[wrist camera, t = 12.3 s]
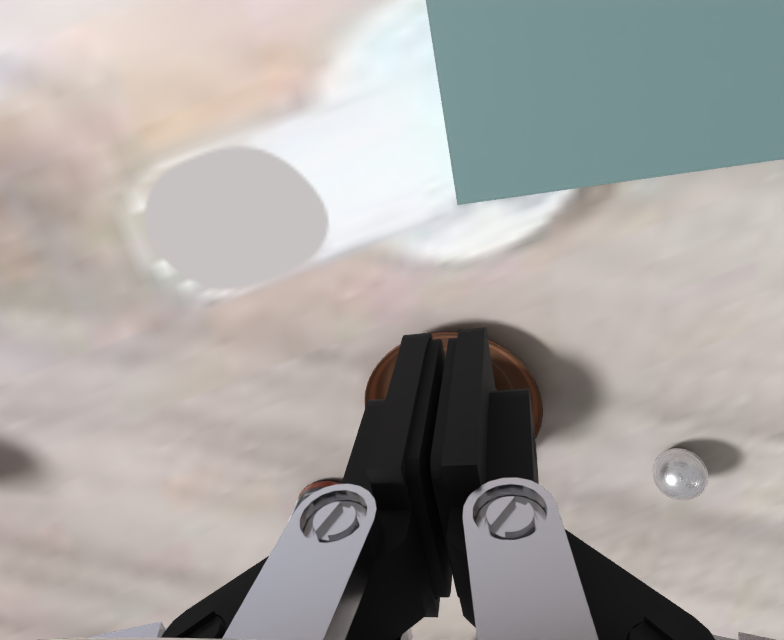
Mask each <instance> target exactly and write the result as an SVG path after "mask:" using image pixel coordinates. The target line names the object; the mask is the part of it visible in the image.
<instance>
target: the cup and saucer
mask: <svg viewBox="0 0 784 640" xmlns="http://www.w3.org/2000/svg"><path fill="white" fill-rule="evenodd" d="M431 335H432V338H433V340H434V339H441V340H442V342H443V347H444V352H445V357H446V351H447V345H448V339H449V338H456V337H457V335H458V333H455V332H441V333H432V334H431ZM488 342H489V349H490V355H491V362H492V369H493V376H494V383H495V389H496V391H503V390H517V389H529V390H530V397H531V405H532V413H533V422H534V432H535V439H536V437H537V435H538V432H539V430H540V427H541V423H542V416H543V407H542V400H541V395H540V392H539V389H538V386H537V384H536V382H535V380H534V378H533V377H532V375H531V373H530V372H529V370H528V369H527V368H526V367H525V365H524V364H523V363H522V362H521V361H520V360H519V359H518V358H517V357H516V356H514V355H513V354H512V353H511V352H509V351H508V350H506V349H505V348H503V347H502V346H500V345H498V344H496V343H494V342H492V341H490V340H488ZM400 345H401V344H400ZM400 345H399V346H397V347H395V348H394V349H393V350H391V351H390V352H389V353H388V354H387V355H386V356H385V357H384V358H383V359H382V360H381V361H380V362H379V363H378V365H377V366H376V368H375V369H374V370H373V372H372V374H371V376H370V378H369V381H368V383H367V387H366V391H365V408H366V405H367V403H368V401H370V400H374V399H386V396H387V392H388V388H389V385H390V381H391V378H392V374H393V370H394V367H395V363H396V359H397V356H398V352H399V349H400Z"/></svg>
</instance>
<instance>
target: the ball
mask: <svg viewBox="0 0 784 640" xmlns="http://www.w3.org/2000/svg"><path fill="white" fill-rule="evenodd" d="M653 478H654V481H655V484H656V485H657V487H658V488H659V489H660V491H661V492H663V493H664V494H665V495H667V496H668V497H670V498H673V499H676V500H690V499H693V498H696V497H697V496H699V495H700V494H701V493H702V492H703V491H704V490H705V488H706V486H707V483H708V471H707V468H706V465H705V464H704V462H703V461H702V459H701V458H700V457H699V456H698V455H696V454H695V453H693V452H691V451H689V450H686V449H681V448H674V449H669V450H667V451H665V452H663V453H662V454H660V455H659V456H658V457H657V459H656V460H655V462H654V465H653Z"/></svg>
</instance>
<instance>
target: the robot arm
mask: <svg viewBox="0 0 784 640" xmlns="http://www.w3.org/2000/svg"><path fill="white" fill-rule="evenodd" d="M452 574H453V578H454V583H455V587H456V592H457V596H458V597H459V598H460V603H461V607H462V612H463V616H464V617H465V618H466V619H467V620H468V621H469V622H470V623H471V624H472V625H473V626H474V627H475V628H476V634H477V640H735V639H730V638H726V637H721V636H716V635H712V634H711V632H710V631H709V630H708V629H707V628H706V627H705V626H704V625H703V624H701V623H700V622H699V621H698V620H697V619H696V618H695V617H693V616H692V615H690V614H689V613H687V612H686V611H684V610H683V609H681V608H680V607H679V606H677V605H676V604H674V603H673V602H671V601H670V600H668V599H667V598H665V597H664V596H662V595H661V594H659V593H658V592H656V591H655V590H654V589H652V588H651V587H649V586H648V585H646V584H645V583H643V582H642V581H640V580H639V579H637V578H636V577H634V576H633V575H632V574H630V573H629V572H627V571H626V570H624V569H623V568H621V567H620V566H618V565H617V564H615V563H614V562H612V561H611V560H609V559H608V558H607V557H605V556H604V555H602V554H601V553H599V552H598V551H596V550H595V549H593V548H592V547H590V546H589V545H587V544H586V543H584V542H583V541H582V540H580V539H579V538H577V537H576V536H574V535H573V534H571V533H570V532H568V531H567V530H565V529H564V526H563V522H562V519H561V516H560V512H559V509H558V506H557V503H556V501H555V500H554V498H553V496H552V494H551V493H550V492H549V491H547V490H546V489H545V488H544V487H543V486H542V485H539V482H538V467H537V453H536V442H535V432H534V422H533V413H532V405H531V397H530V390H529V389H517V390H503V391H496V389H495V383H494V376H493V369H492V362H491V355H490V349H489V342H488V335H487V330H486V328H477V329H466V330H458V335H457V337H456V338H449V339H448V345H447V351H446V357H445V352H444V347H443V342H442V340H441V339H434V340H433V338H432V335H431V333H423V334H413V335H404V336H403V338H402V341H401V345H400V349H399V352H398V356H397V359H396V363H395V367H394V370H393V374H392V378H391V381H390V385H389V388H388V392H387V396H386V399H374V400H370V401H368V403H367V405H366V408H365V411H364V414H363V418H362V421H361V424H360V427H359V430H358V433H357V437H356V440H355V443H354V446H353V449H352V452H351V456H350V459H349V462H348V465H347V468H346V471H345V475H344V478H343V481H342V484H336V485H332V486H328V487H325V488H322V489H320V490H318V491H316V492H314V493H312V494H311V495H310V496H309V497H307V498H306V499H305V500H304V501H302V502H301V504H300V505H299V506H298V508H297V509H296V510H295V511H294V513H293V515H292V517H291V518H290V520H289V522H288V524H287V526H286V527H285V529H284V531H283V533H282V534H281V536H280V538H279V540H278V541H277V543H276V545H275V547H274V548H273V550H272V552H271V554H270V555H269V556H268V557H267V558H265V559H264V560H262V561H261V562H259V563H258V564H256V565H254V566H253V567H251V568H250V569H248V570H247V571H245V572H244V573H242V574H241V575H239V576H238V577H236V578H235V579H233V580H232V581H230V582H229V583H227V584H226V585H224V586H223V587H221V588H220V589H218V590H217V591H215V592H214V593H212V594H210V595H209V596H207V597H206V598H204V599H203V600H201V601H200V602H198V603H197V604H195V605H194V606H192V607H191V608H189V609H188V610H186V611H185V612H184V613H183V614H181V615H180V616H179V617H178V618H176V619H175V620H174V621H173V622H172V623H171V624H170V626H169V627H168V628H165V627H164V626H163V624H162V622H158V623H153V624H148V625H143V626H139V627H134V628H129V629H124V630H119V631H115V632H110V633H105V634H100V635H96V636H91V637H86V638H61V639H39V640H412V637H413V635H412V630H411V627H412V626H413V625H415V624H416V623H417V622H418V621H420V620H421V619H422V618H423V617H438V612H439V602H440V597H450V593H451V583H452ZM738 640H774V639H770V638H765V637H760V636H755V635H751V634H746V633H741V632H739V633H738Z"/></svg>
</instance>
